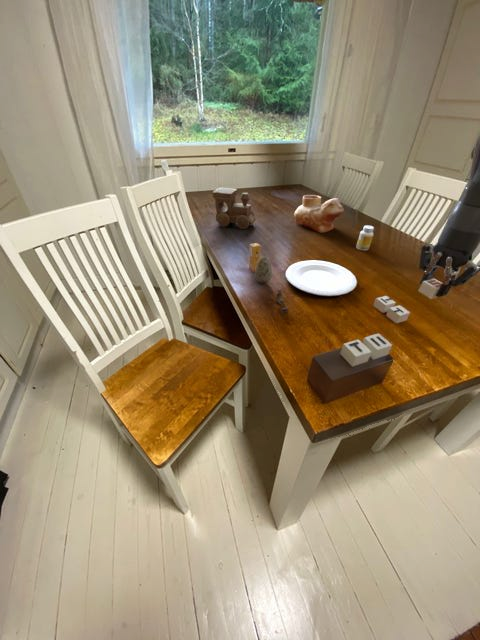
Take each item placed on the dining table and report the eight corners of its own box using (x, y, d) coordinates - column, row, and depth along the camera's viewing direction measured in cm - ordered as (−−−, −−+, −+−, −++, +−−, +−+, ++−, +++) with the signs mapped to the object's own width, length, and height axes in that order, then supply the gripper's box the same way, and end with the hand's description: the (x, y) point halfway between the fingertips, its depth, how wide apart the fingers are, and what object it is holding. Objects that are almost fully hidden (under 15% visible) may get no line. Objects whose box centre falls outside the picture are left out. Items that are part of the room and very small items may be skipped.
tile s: (442, 296, 70) (448, 285, 68) (431, 299, 68) (436, 288, 66) (429, 288, 72) (434, 278, 70) (417, 291, 71) (423, 280, 69)
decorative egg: (260, 276, 101) (261, 251, 95) (274, 281, 98) (276, 255, 92) (251, 283, 97) (252, 257, 91) (265, 288, 94) (267, 262, 88)
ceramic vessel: (328, 236, 131) (336, 204, 122) (287, 222, 146) (291, 192, 137) (344, 229, 138) (352, 198, 129) (303, 216, 154) (308, 188, 144)
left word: (387, 354, 59) (392, 344, 57) (352, 366, 56) (356, 356, 54) (374, 343, 62) (378, 332, 60) (340, 353, 59) (343, 343, 57)
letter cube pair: (406, 320, 81) (411, 312, 79) (395, 323, 80) (399, 315, 78) (383, 303, 88) (386, 295, 86) (372, 306, 87) (375, 298, 85)
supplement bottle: (353, 247, 121) (359, 226, 115) (360, 244, 124) (366, 223, 118) (364, 252, 118) (371, 230, 112) (371, 248, 121) (378, 227, 115)
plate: (289, 299, 89) (290, 294, 88) (281, 263, 109) (281, 259, 108) (365, 300, 89) (367, 295, 88) (343, 264, 109) (345, 260, 108)
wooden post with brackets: (279, 294, 90) (282, 286, 86) (284, 315, 86) (288, 308, 82) (273, 294, 90) (276, 287, 86) (279, 316, 86) (282, 309, 82)
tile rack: (382, 382, 63) (394, 359, 58) (324, 404, 58) (332, 380, 53) (361, 361, 68) (371, 338, 63) (306, 379, 64) (312, 356, 59)
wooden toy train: (213, 226, 141) (211, 191, 130) (221, 219, 149) (220, 186, 139) (250, 231, 136) (251, 195, 126) (256, 223, 145) (257, 189, 134)
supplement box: (256, 266, 107) (257, 242, 101) (259, 270, 104) (261, 246, 98) (248, 268, 106) (249, 243, 100) (251, 272, 103) (252, 247, 97)
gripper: (513, 234, 55) (468, 303, 66) (449, 213, 65) (418, 275, 76) (488, 239, 53) (445, 310, 64) (426, 216, 63) (398, 280, 74)
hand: (431, 291), depth 70 cm, fingers closed on tile s, 4 cm apart
